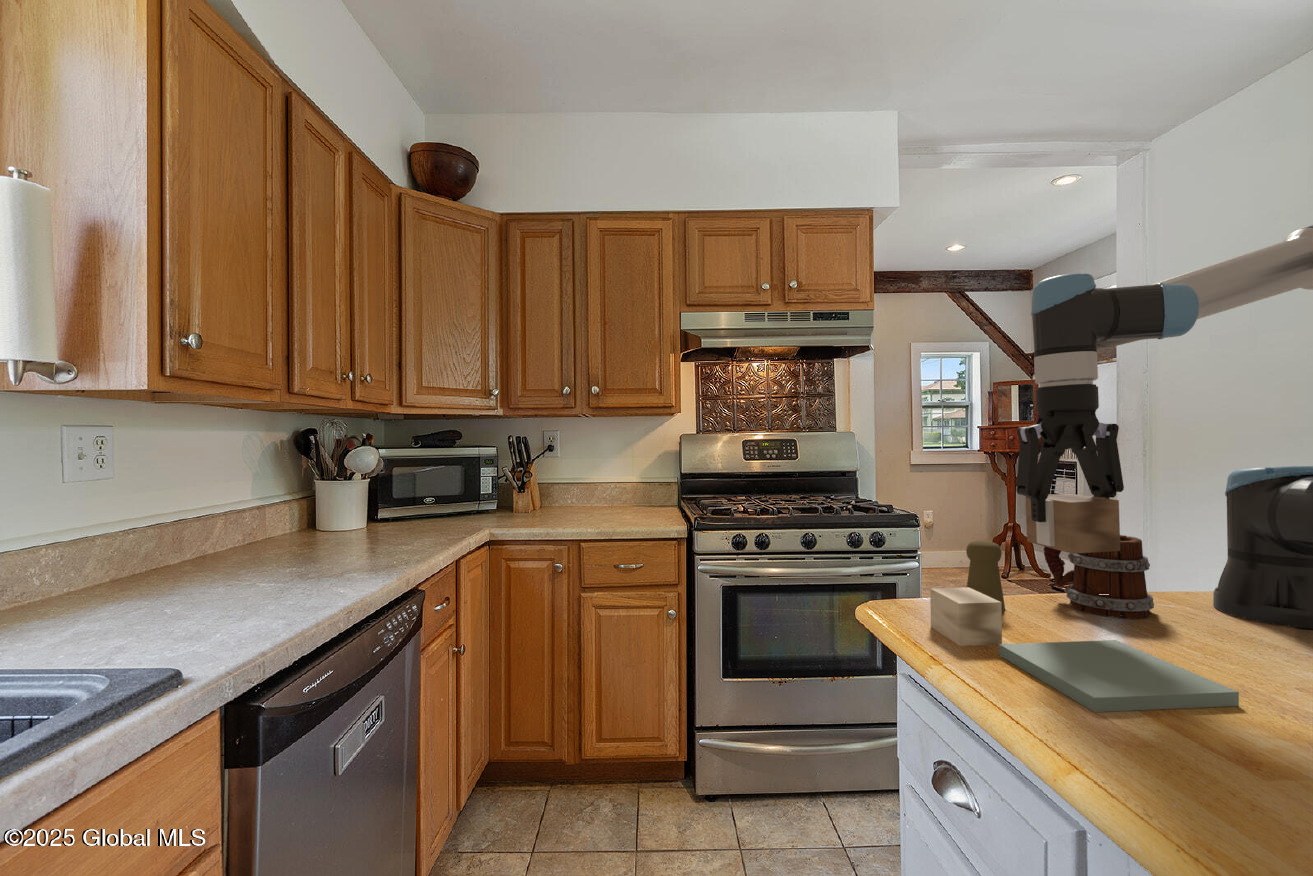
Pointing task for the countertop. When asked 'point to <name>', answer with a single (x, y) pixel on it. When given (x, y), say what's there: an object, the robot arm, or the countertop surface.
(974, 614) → the maple cap block
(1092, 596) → the mug
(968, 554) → the olive pepper shaker
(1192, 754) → the countertop surface
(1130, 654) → the baseplate
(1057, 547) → the walnut brick
